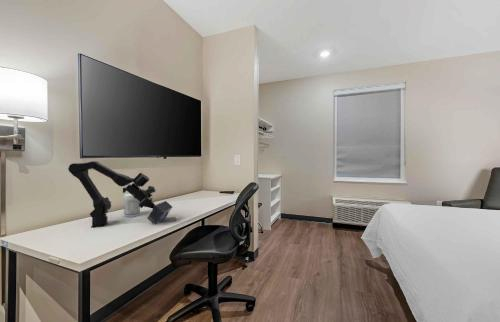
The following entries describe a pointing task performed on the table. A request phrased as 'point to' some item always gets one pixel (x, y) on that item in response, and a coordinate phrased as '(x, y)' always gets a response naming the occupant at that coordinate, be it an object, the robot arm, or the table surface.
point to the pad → (169, 219)
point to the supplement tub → (131, 206)
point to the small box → (159, 212)
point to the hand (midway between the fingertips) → (156, 208)
